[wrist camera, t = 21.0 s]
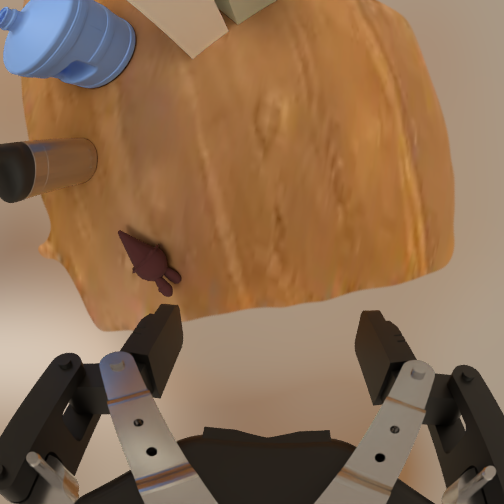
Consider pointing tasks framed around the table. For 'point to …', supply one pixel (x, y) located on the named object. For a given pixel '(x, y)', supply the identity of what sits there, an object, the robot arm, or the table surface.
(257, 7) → the sage step
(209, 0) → the off-white stand
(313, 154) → the table surface
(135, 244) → the icecream
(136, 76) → the table surface
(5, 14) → the water jug
